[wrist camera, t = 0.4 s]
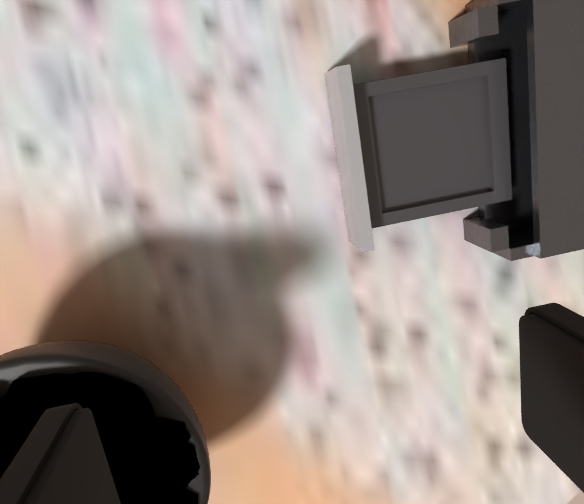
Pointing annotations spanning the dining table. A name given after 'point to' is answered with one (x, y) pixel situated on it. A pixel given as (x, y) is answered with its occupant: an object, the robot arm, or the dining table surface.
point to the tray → (419, 144)
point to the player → (533, 123)
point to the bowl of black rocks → (110, 416)
